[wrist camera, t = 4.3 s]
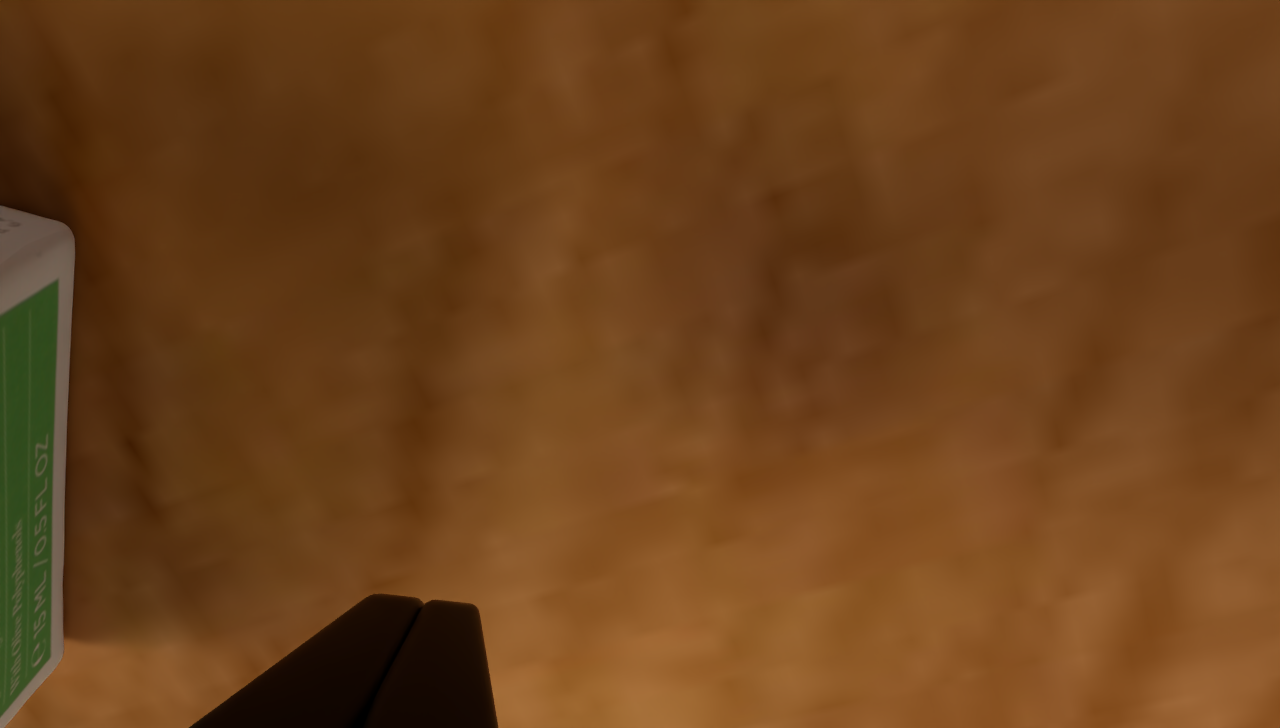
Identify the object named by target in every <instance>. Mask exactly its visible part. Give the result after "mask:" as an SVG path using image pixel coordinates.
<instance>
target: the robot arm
mask: <svg viewBox="0 0 1280 728" xmlns="http://www.w3.org/2000/svg"><path fill="white" fill-rule="evenodd" d="M189 728H498V723H497V717H496V711H495V705H494V699H493V693H492V687H491V680H490V674H489V668H488V662H487V656H486V650H485V644H484V638H483V632H482V626H481V620H480V614H479V610H478V608H477V607H476V606H475V605H473V604H470V603H461V602H451V601H442V600H431V601H429V602H427V603H425V605H424V603H423V602H422V601H421V600H420V599H418V598H415V597H406V596H397V595H388V594H373V595H370V596H368V597H366V598H365V599H363V600H362V601H360V602H359V603H358V604H356V605H355V606H354V607H352V608H351V609H350V610H348V611H347V612H346V613H344V614H343V615H341V616H340V617H339V618H337V619H336V620H335V621H333V622H332V623H331V624H329V625H328V626H326V627H325V628H324V629H322V630H321V631H320V632H318V633H317V634H316V635H314V636H313V637H312V638H310V639H309V640H307V641H306V642H305V643H303V644H302V645H301V646H299V647H298V648H297V649H295V650H294V651H292V652H291V653H290V654H288V655H287V656H286V657H284V658H283V659H282V660H280V661H279V662H278V663H276V664H275V665H273V666H272V667H271V668H269V669H268V670H267V671H265V672H264V673H263V674H261V675H260V676H258V677H257V678H256V679H254V680H253V681H252V682H250V683H249V684H248V685H246V686H245V687H244V688H242V689H241V690H239V691H238V692H237V693H235V694H234V695H233V696H231V697H230V698H229V699H227V700H226V701H224V702H223V703H222V704H220V705H219V706H218V707H216V708H215V709H214V710H212V711H211V712H210V713H208V714H207V715H205V716H204V717H203V718H201V719H200V720H199V721H197V722H196V723H195V724H193V725H192V726H191V727H189Z"/></svg>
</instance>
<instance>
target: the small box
mask: <svg viewBox="0 0 1280 728" xmlns="http://www.w3.org/2000/svg"><path fill="white" fill-rule="evenodd" d="M74 266H75V238H74V236H73V233H72V231H71V229H70V228H69V227H68V226H67V225H65V224H64V223H62V222H59V221H56V220H52V219H48V218H44V217H40V216H37V215H34V214H30V213H27V212H23V211H20V210H16V209H12V208H8V207H5V206H2V205H0V728H4V727H5V726H6V725H7V724H8V723H9V722H10V720H11V719H12V718H13V717H14V716H15V715H16V713H17V712H18V711H19V710H20V708H21V707H22V706H23V705H24V703H25V702H26V701H27V700H28V699H29V698H30V696H31V695H32V694H33V693H34V692H35V691H36V690H37V689H38V688H39V686H40V685H41V684H42V683H43V682H44V681H45V679H46V678H47V677H48V676H49V675H50V674H51V673H52V672H53V670H54V669H55V668H56V667H57V665H58V664H59V662H60V661H61V659H62V657H63V653H64V637H63V567H64V531H65V478H66V444H67V415H68V394H69V370H70V347H71V327H72V306H73V288H74Z"/></svg>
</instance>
